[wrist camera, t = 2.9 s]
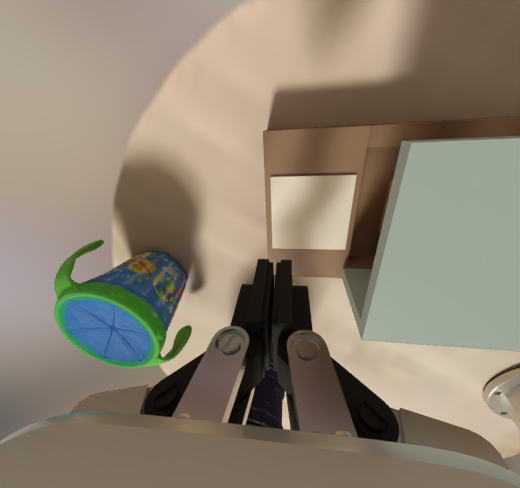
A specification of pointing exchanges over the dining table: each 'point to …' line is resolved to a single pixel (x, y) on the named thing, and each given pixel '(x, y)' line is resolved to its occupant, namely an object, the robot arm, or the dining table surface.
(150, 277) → the snack cup
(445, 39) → the dining table surface
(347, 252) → the board
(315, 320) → the dining table surface
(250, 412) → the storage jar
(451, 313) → the cover
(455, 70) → the dining table surface
